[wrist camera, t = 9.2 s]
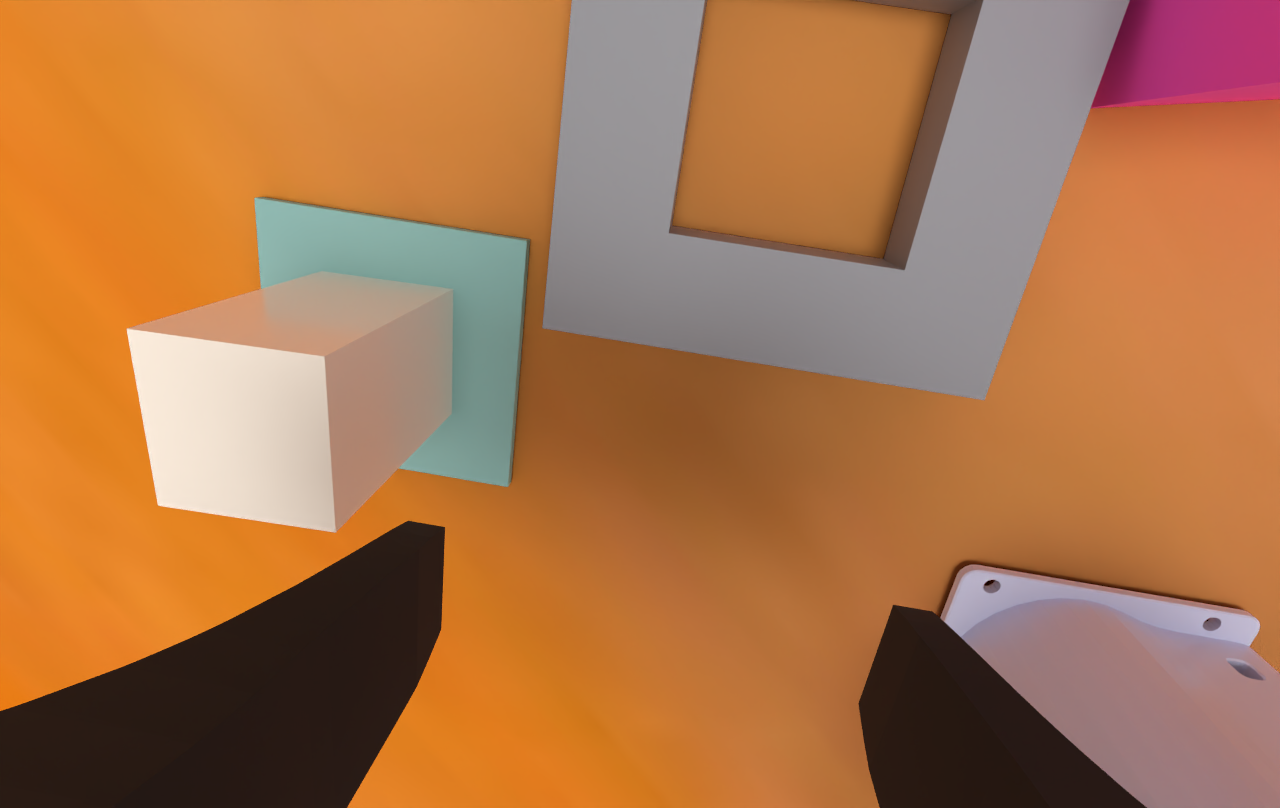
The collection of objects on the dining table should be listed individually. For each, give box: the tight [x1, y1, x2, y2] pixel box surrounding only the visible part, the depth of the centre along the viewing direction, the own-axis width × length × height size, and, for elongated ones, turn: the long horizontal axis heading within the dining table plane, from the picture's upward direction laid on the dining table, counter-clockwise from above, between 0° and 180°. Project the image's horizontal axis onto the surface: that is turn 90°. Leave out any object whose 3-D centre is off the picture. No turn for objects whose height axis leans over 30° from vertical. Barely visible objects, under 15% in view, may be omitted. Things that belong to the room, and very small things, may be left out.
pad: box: [255, 197, 530, 487], centre depth 20 cm, size 8×8×1 cm
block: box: [127, 271, 453, 533], centre depth 17 cm, size 4×4×7 cm
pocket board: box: [542, 0, 1130, 400], centre depth 16 cm, size 12×12×2 cm
